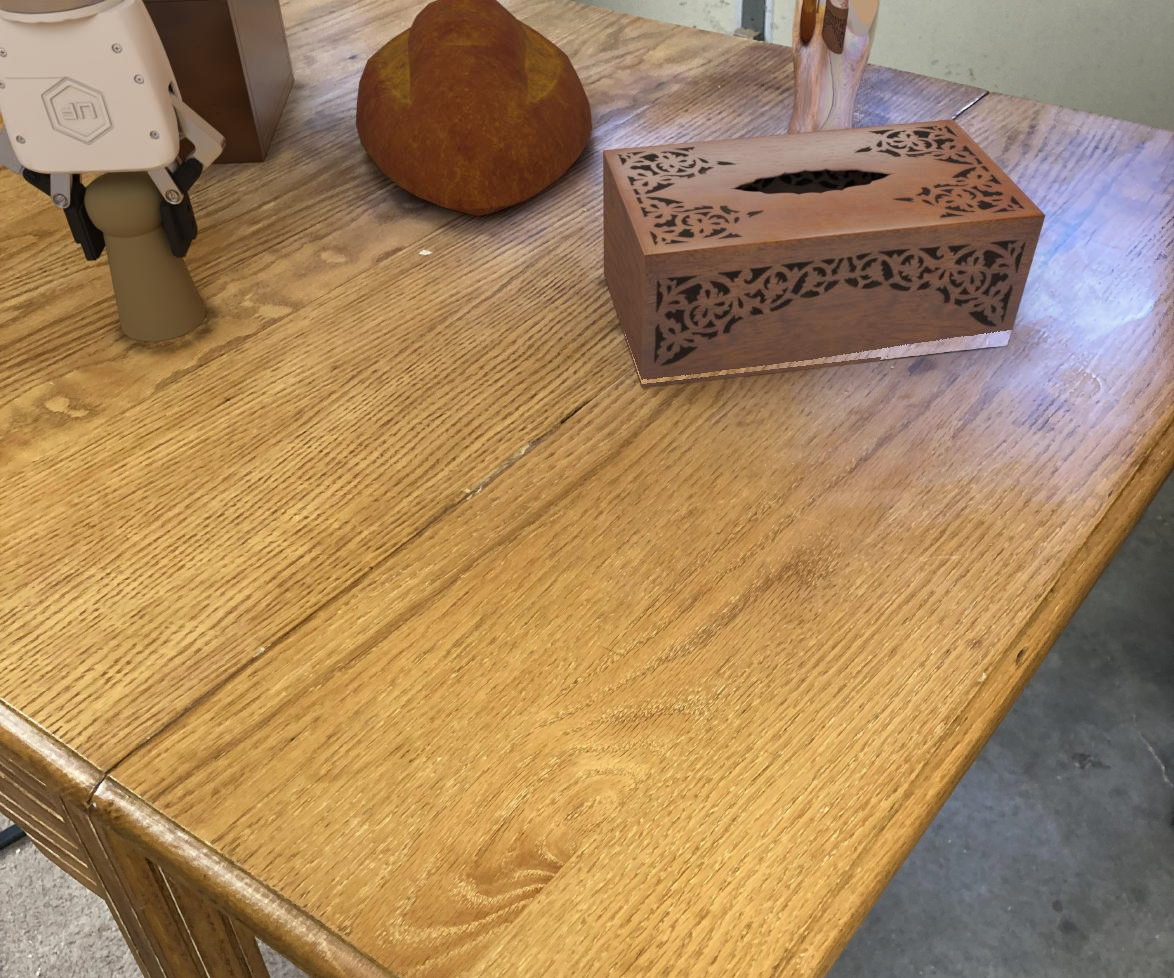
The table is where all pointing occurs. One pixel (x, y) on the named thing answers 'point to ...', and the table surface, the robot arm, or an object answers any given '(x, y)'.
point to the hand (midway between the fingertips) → (141, 247)
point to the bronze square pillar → (228, 68)
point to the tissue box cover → (810, 246)
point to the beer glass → (829, 61)
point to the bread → (472, 108)
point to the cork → (142, 258)
